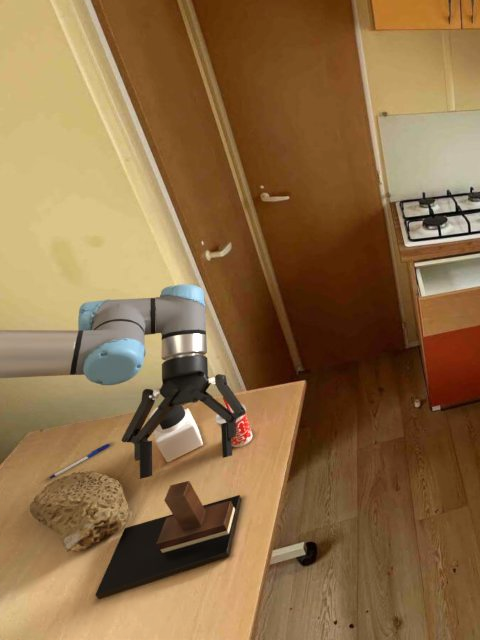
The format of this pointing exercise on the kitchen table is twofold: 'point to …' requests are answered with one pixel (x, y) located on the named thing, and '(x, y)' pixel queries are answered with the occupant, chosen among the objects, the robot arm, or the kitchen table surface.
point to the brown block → (192, 519)
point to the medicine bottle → (177, 433)
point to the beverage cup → (238, 428)
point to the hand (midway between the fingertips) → (187, 467)
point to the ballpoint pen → (81, 460)
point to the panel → (159, 555)
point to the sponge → (81, 508)
